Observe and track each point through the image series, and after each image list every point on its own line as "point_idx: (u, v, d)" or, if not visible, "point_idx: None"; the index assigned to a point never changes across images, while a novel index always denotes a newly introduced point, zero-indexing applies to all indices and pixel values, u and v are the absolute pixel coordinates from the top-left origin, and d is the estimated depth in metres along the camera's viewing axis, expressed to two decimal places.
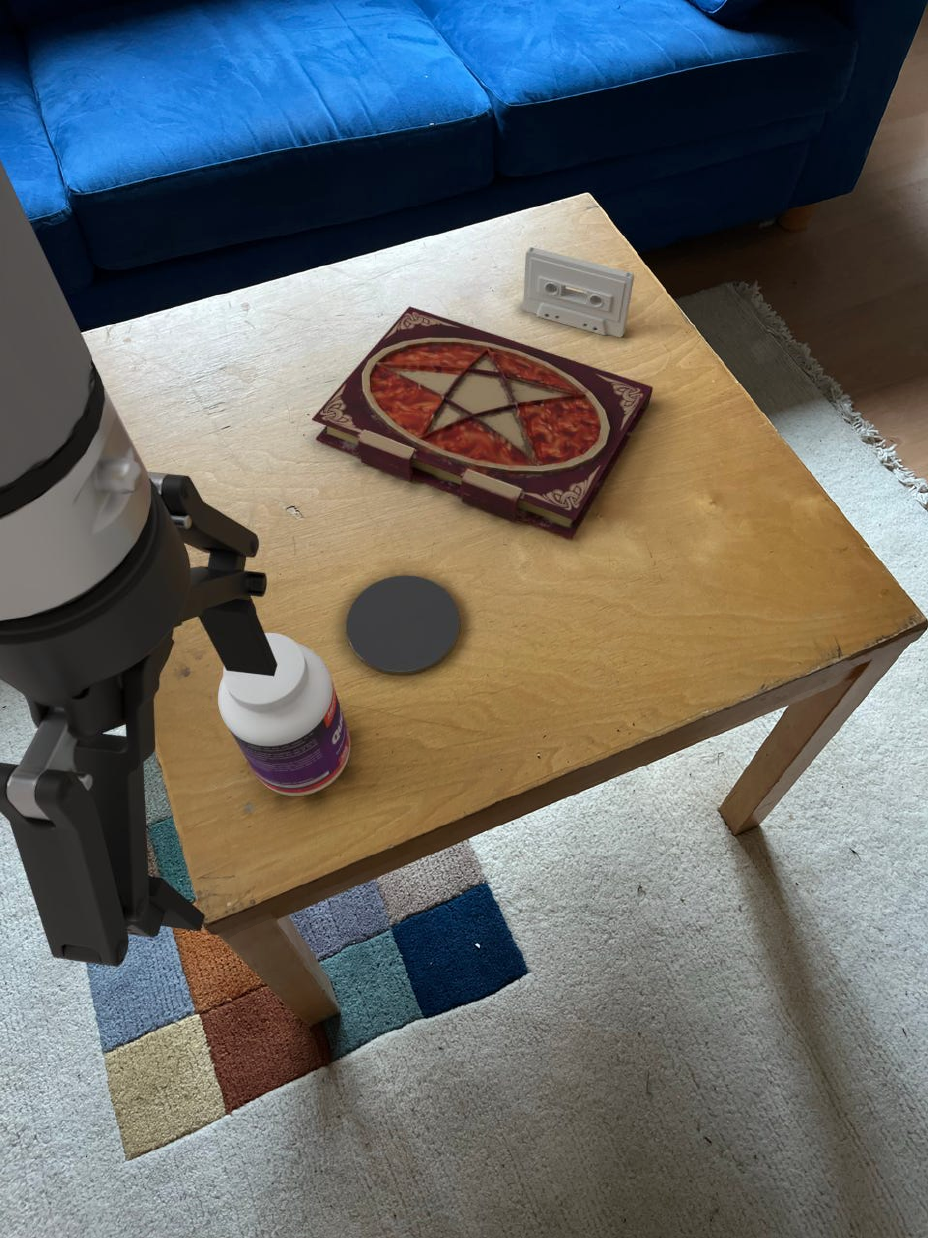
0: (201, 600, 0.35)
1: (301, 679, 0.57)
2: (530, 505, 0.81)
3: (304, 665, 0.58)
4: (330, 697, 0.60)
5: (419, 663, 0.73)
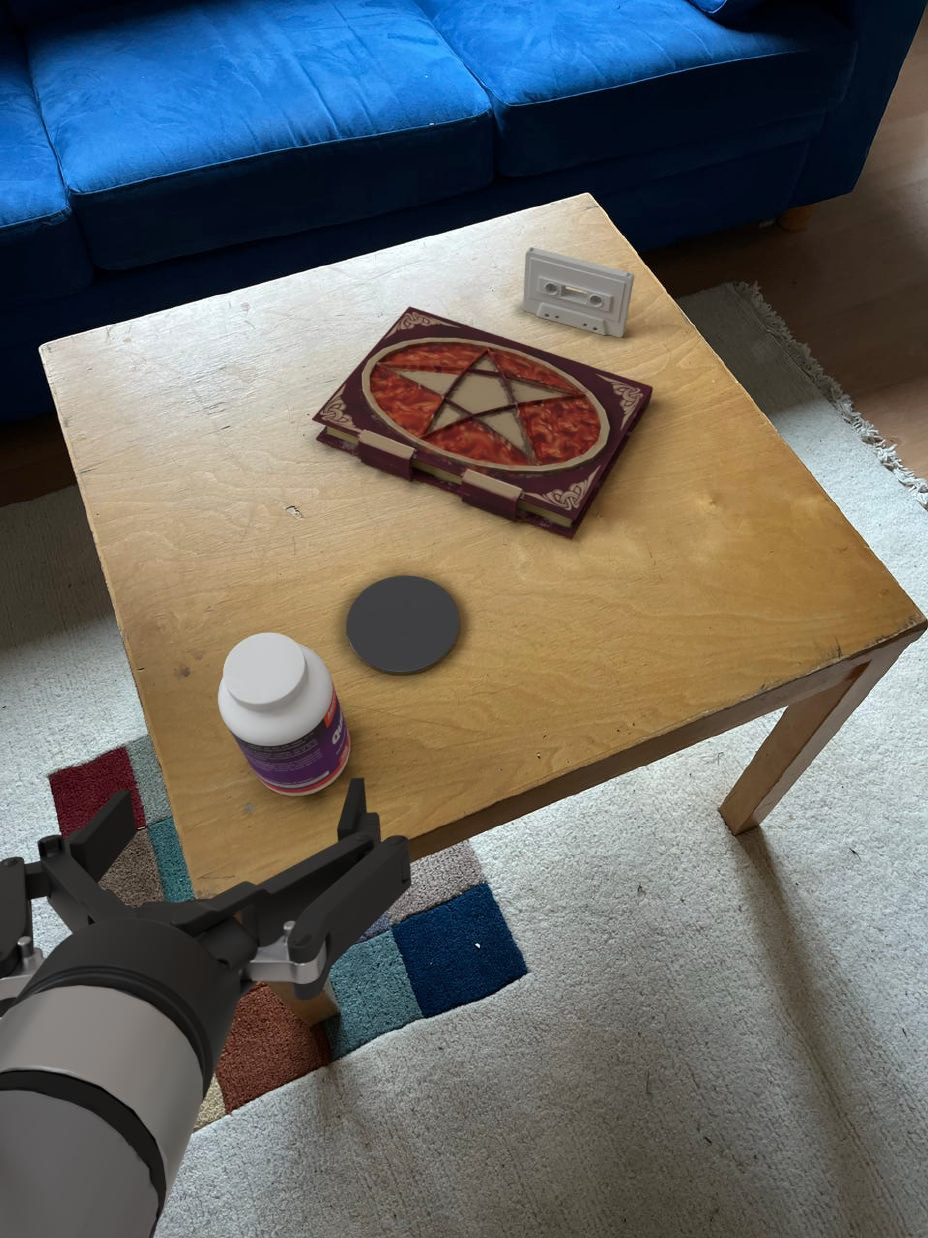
0: None
1: (301, 679, 0.57)
2: (530, 505, 0.81)
3: (304, 665, 0.58)
4: (330, 697, 0.60)
5: (419, 663, 0.73)
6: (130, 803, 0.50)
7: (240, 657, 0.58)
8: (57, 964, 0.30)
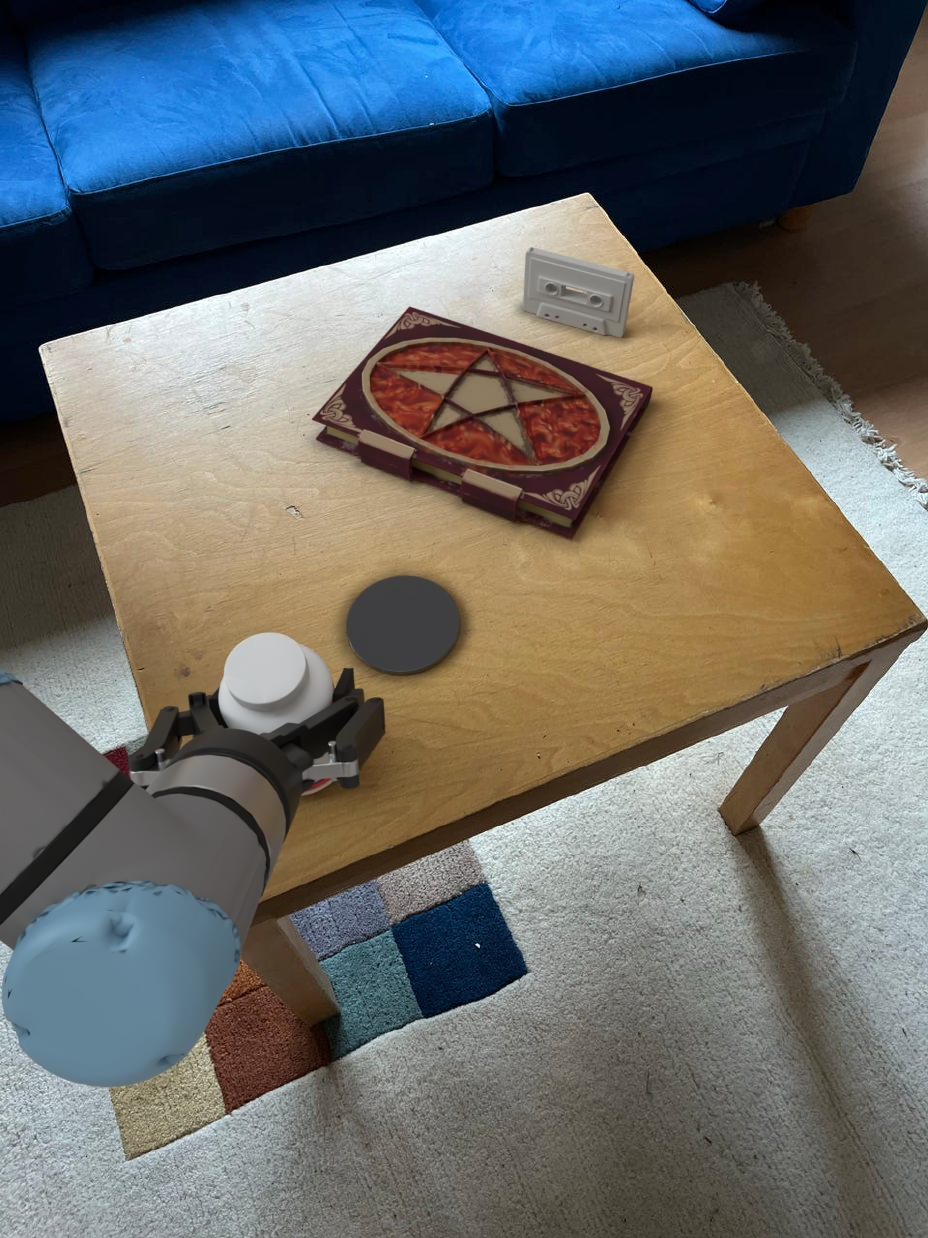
0: None
1: (302, 679, 0.57)
2: (530, 505, 0.81)
3: (305, 665, 0.58)
4: (331, 697, 0.60)
5: (419, 663, 0.73)
6: None
7: (241, 657, 0.58)
8: (189, 749, 0.45)
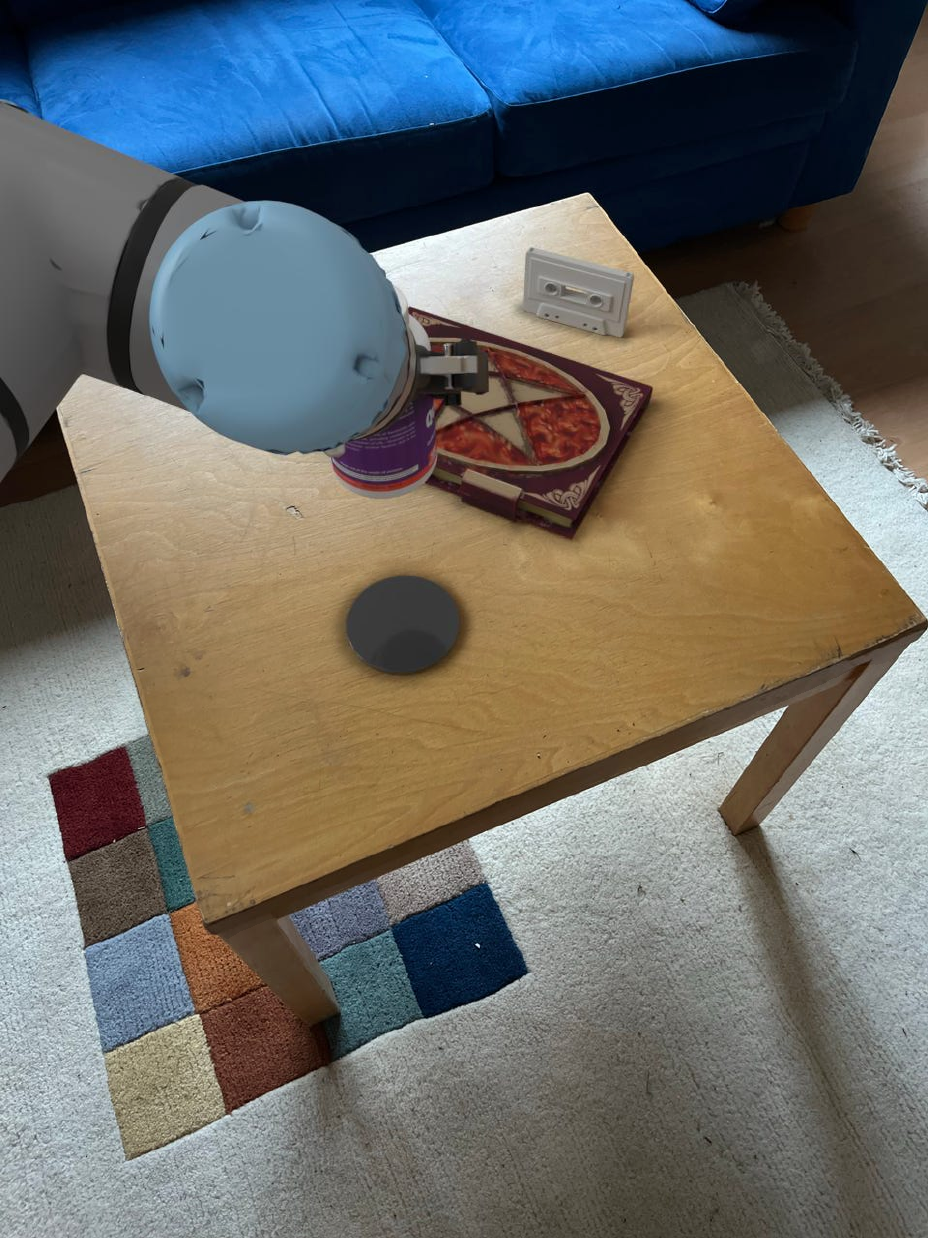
0: None
1: (404, 316, 0.53)
2: (530, 505, 0.81)
3: (406, 304, 0.53)
4: None
5: (419, 663, 0.73)
6: None
7: None
8: None
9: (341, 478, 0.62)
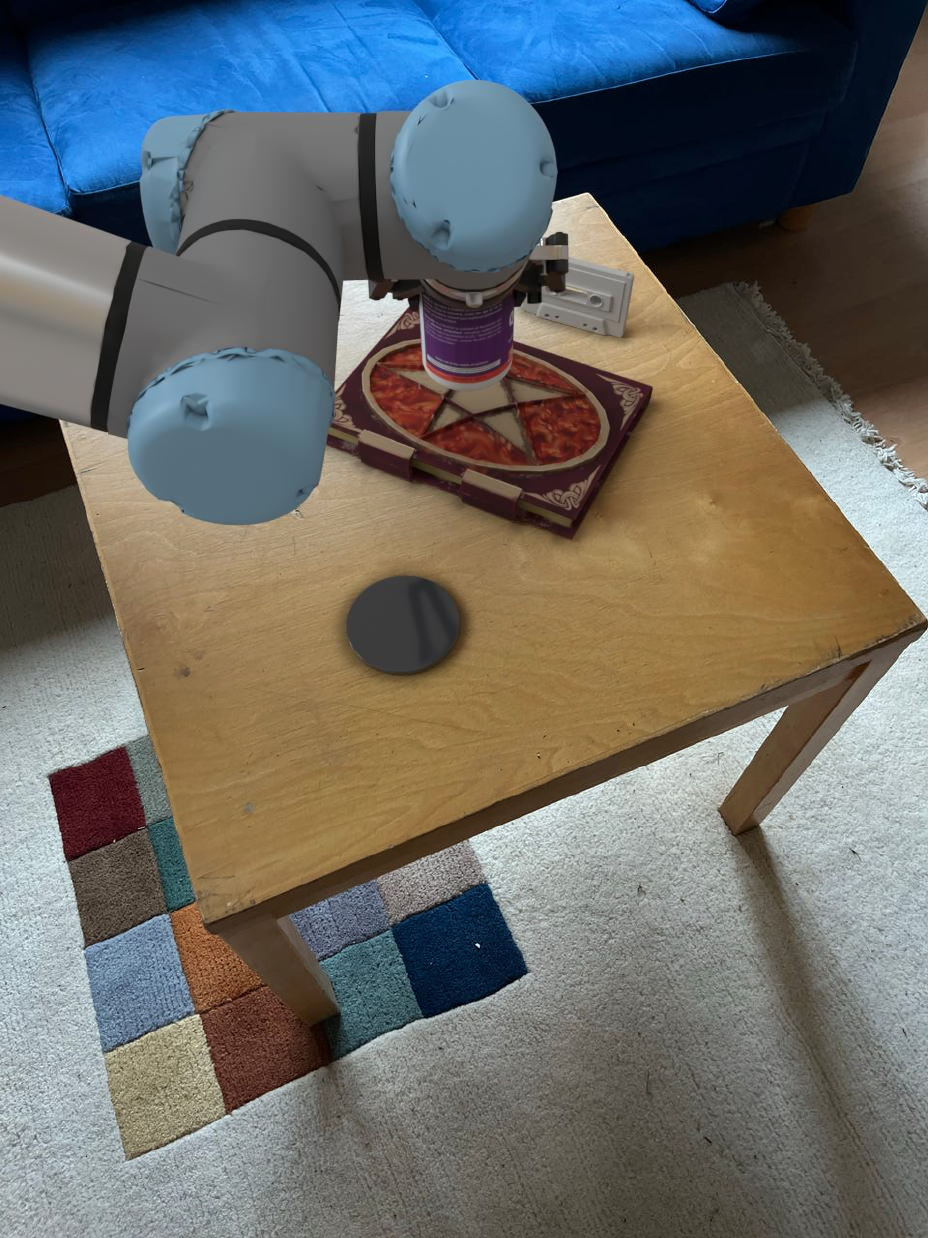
0: None
1: None
2: (530, 505, 0.81)
3: None
4: None
5: (419, 663, 0.73)
6: None
7: None
8: None
9: (434, 373, 0.74)
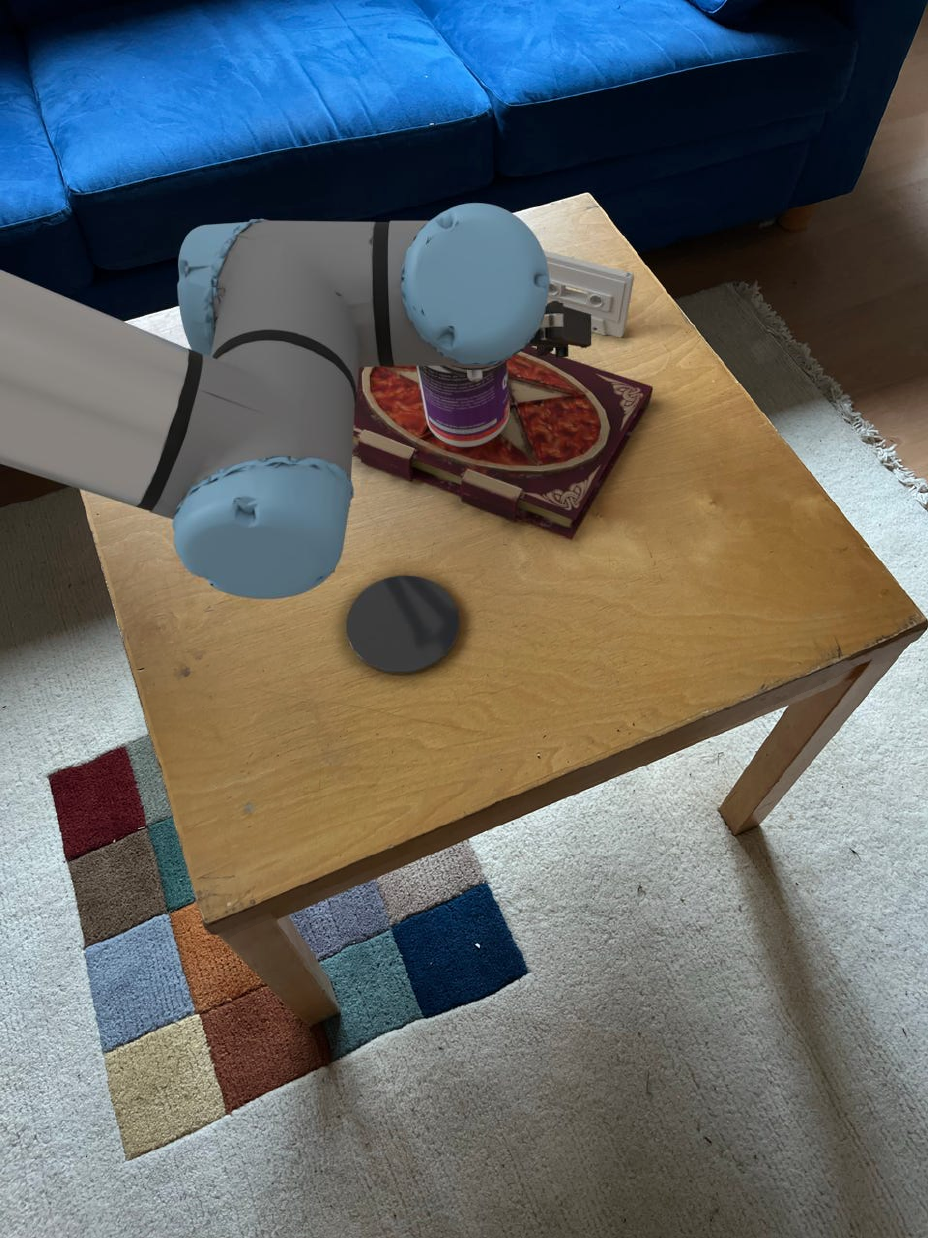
0: None
1: None
2: (530, 505, 0.81)
3: None
4: None
5: (419, 663, 0.73)
6: None
7: None
8: None
9: (436, 432, 0.80)
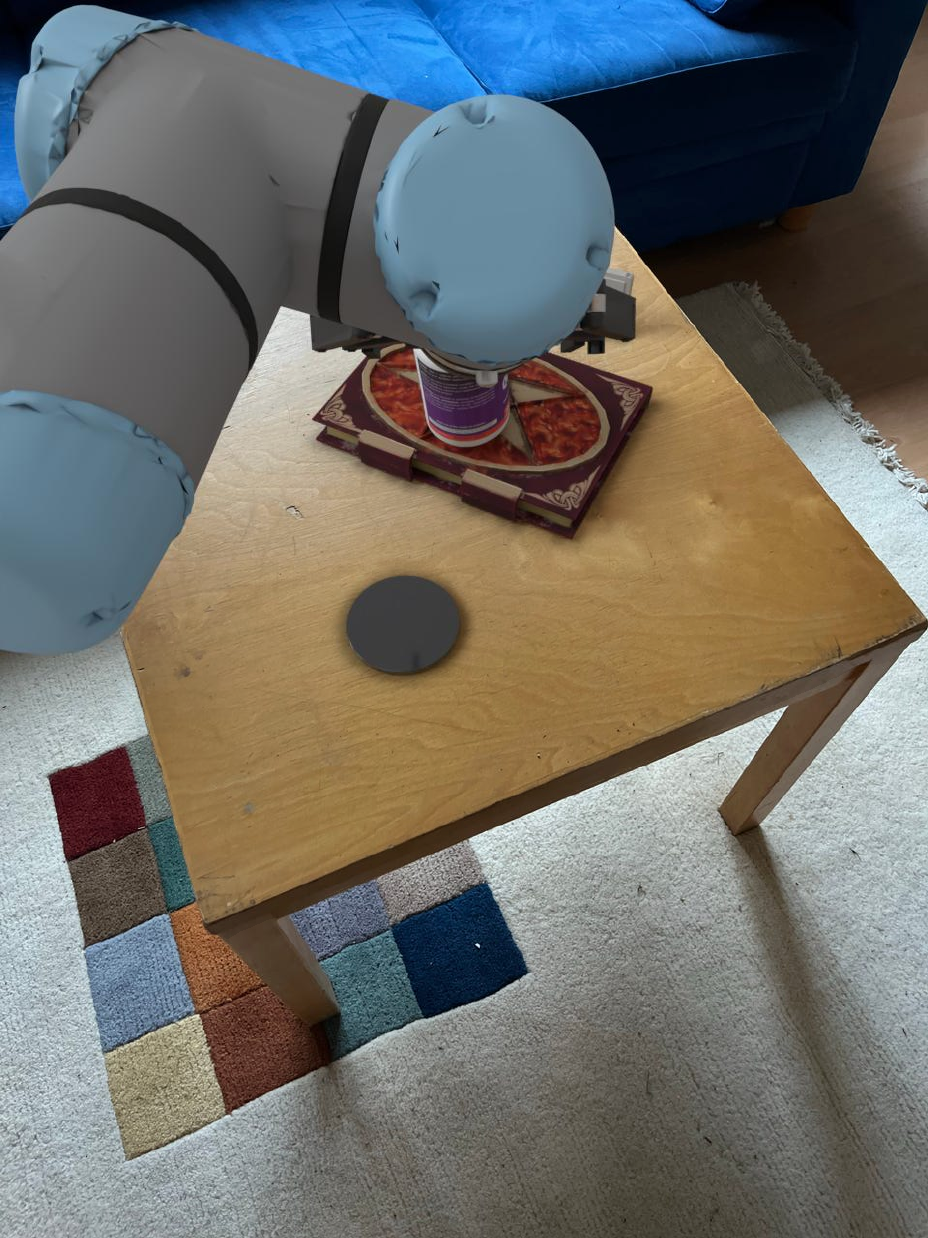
0: None
1: None
2: (530, 505, 0.81)
3: None
4: None
5: (419, 663, 0.73)
6: None
7: None
8: None
9: (436, 432, 0.80)
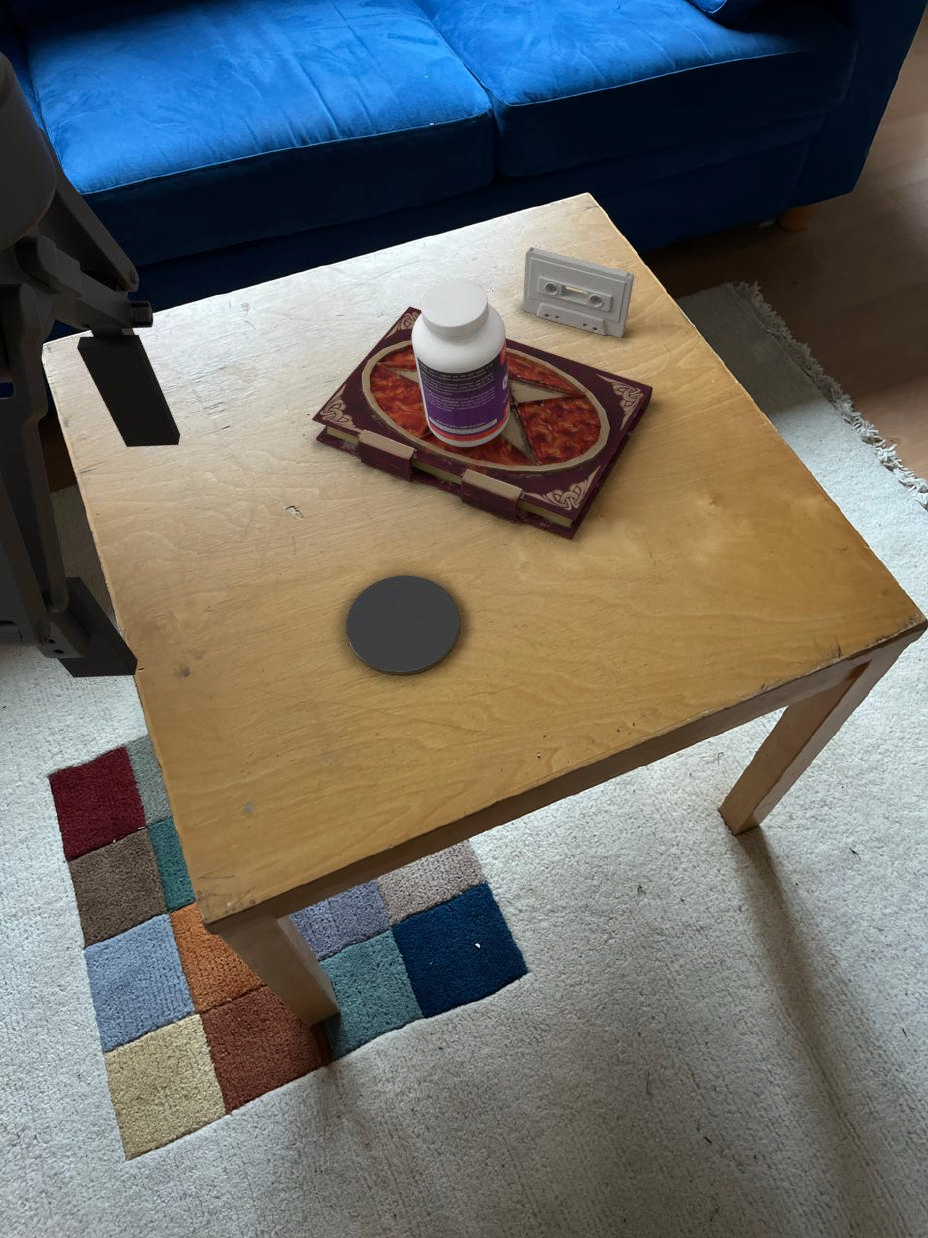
0: None
1: (486, 308, 0.69)
2: (530, 505, 0.81)
3: (487, 298, 0.70)
4: (504, 335, 0.72)
5: (419, 663, 0.73)
6: (163, 441, 0.45)
7: (433, 296, 0.70)
8: None
9: (436, 432, 0.80)
